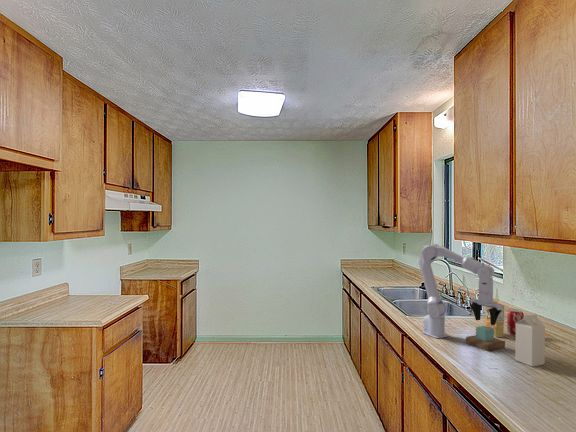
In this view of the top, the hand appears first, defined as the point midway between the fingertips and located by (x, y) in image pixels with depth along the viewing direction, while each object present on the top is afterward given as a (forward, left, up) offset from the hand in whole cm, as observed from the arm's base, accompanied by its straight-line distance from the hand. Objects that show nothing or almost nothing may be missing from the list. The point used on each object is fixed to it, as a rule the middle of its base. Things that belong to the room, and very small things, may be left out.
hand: (485, 322), depth 168 cm
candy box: (-9, +19, -11) cm, 24 cm away
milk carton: (+21, -1, -11) cm, 23 cm away
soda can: (-5, +29, -11) cm, 31 cm away
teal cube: (0, 0, -7) cm, 7 cm away
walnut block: (0, 0, -11) cm, 11 cm away
